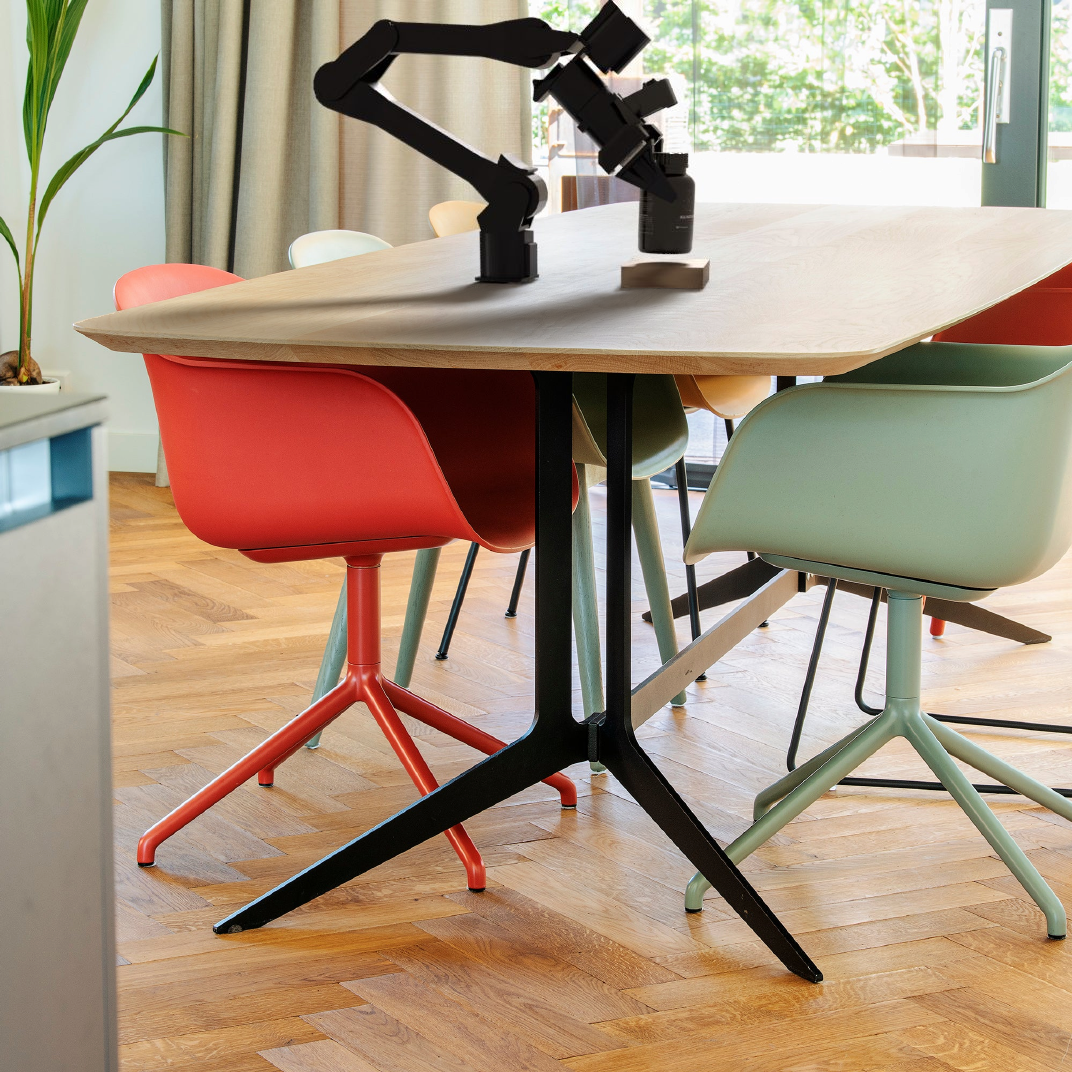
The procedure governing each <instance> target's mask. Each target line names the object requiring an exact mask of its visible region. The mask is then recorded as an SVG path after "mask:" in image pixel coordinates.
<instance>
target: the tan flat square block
mask: <svg viewBox="0 0 1072 1072" xmlns="http://www.w3.org/2000/svg"><path fill="white" fill-rule="evenodd" d="M710 262H711V259H706V258H705V259H704V258H702V259H701V258H697V259H696V258H695V259H693V258H637V257H636V258H635V257H633V258H630V259H629V260H628V261H626V262H625V263H624V264H622V265H620V288H641V289H642V288H644V289H646V288H648V289H649V288H653V289H655V288H657V289H695V290H696V289H697V290H698V289H699V290H700V289H704V288H705V286H706V285H707V283H708V282H709V280H710V269H711V268H710V265H711V263H710Z"/></svg>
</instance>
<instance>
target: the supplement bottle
mask: <svg viewBox="0 0 1072 1072" xmlns="http://www.w3.org/2000/svg"><path fill="white" fill-rule="evenodd" d="M654 159H655V161H656V162H657V164H658V165H659V167H660V168H661V170H662V172H663V173H664V175H665V176H666V178H667V179H668V181H669V182H670V184H671V186H672V187H673V189H674V190H675V192H676V194H677V195H678V198H677V199H676V200H675V201H674V202H673V203H670V202H668V201H666V200H664V199H662V198H660V197H658V196H656V195H653V194H651V193H649V192H647V191H645V190H643V189H641V188H639V202H638V227H637V228H638V229H637V249H638V251H639V252H640V253H643V254H651V255H652V254H653V255H688V254H690V253H692V250H693V244H694V243H693V241H694V239H693V238H694V224H695V223H694V221H695V219H694V218H695V203H696V202H695V199H696V182H695V180H694V179H693V177H691V176H690V175H689V174H687V169H689V152H670V151H669V152H654Z"/></svg>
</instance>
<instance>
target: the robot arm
mask: <svg viewBox="0 0 1072 1072" xmlns="http://www.w3.org/2000/svg"><path fill="white" fill-rule="evenodd" d="M651 42H652V39H651V37H650V36H649V35H648V33H647V32H646V31H645V30H644V29H643V27H641V25H640V24H639V23H638V22H637V21H636V20H635V19H634V18H633V17H631V16H629V15H628V14H627V13H626V12H625V11H624V10H623V9H622V8H621V7H620V6H619V5H618V4H617V3H616V1H614V0H607V1H606V2H605V3H604V4H603V6H602V7H601V9H600V10H599V13H597V14H596V15H595V16H594V18H593V19H592V20H591V21H590V22H589V23H588V24H587V25H586V26H585V27H584V28H583V30H582V31H581V32H580V33H578V32H577V31H575V30H572V29H569V30H568V31H564V30H559V29H558V28H557V26H555V24H554V23H552V22H550V21H547V20H544V19H542V18H538V17H535V16H529V17H521V18H515V19H507V20H503V21H498V22H494V23H489V24H483V25H482V24H481V25H480V24H478V25H477V24H459V23H437V22H436V23H434V22H433V23H432V22H414V21H413V22H412V21H411V22H410V21H396V20H392V19H387V18H384V19H379V20H377V21H376V22H374V24H373V25H372V26H371V27H370V28H369V29H368V31H366V33H365V34H363V35H362V36H361V37H360V38H358V40H357V41H355V42H354V43H352V44H351V45H350V46H349V47H347V48H346V49H345V50H344V51H343V52H342V53H341V54H340V55H339V56H338V57H337V58H336V59H334V60H331V61H328V62H325V63H323V64H322V65H321V66H319V68H318V69H317V71H316V72H315V74H314V77H313V81H312V84H313V85H312V86H313V87H312V89H313V92H314V95H315V96H314V97H315V99H316V100H317V103H319V104H320V105H321V106H322V107H324V108H326V109H329V110H330V111H333V112H336V113H339V114H341V115H343V116H345V117H348V118H352V119H355V120H358V121H361V122H363V123H367V124H370V125H373V126H375V127H377V128H379V129H380V130H382V131H384V132H386V133H387V134H389V135H390V136H392V137H394V138H396V140H399V141H400V142H402V143H404V144H405V145H407V146H409V147H411V148H412V149H413V150H415V151H416V152H418V153H419V154H422V155H423V156H424V157H426V158H428V159H430V160H431V161H432V162H435V163H436V164H437V165H439V166H441V167H443V168H444V169H446V170H447V171H450V172H451V173H453V174H454V175H456V176H458V177H460V179H462V180H464V181H465V182H467V183H468V184H470V185H471V186H472V187H473V188H474V190H475V191H476V192H477V193H478V194H479V195H480V197H482V199H483V200H484V201H485V202H487V205H486V206H485V207H484V209H482V210H481V212H480V213H478V214H477V216H476V222H477V224H478V226H479V227H478V228H479V229H480V230H479V232H478V234H479V237H478V238H479V276H474V281H475V282H491V283H492V282H494V283H495V282H496V283H500V282H501V283H519V284H520V283H524V282H527V281H531V280H535V279H539V278H540V273H539V272H538V271H539V269H538V268H539V267H538V243H537V242H536V241H535V240H534V239H535V237H534V236H535V234H534V233H535V230H533V229H531V227H532V225H533V221H534V220H535V216H537V215H538V214H540V213H541V212H542V211H543V210H544V209H545V207H546V206H547V203H548V199H549V198H548V197H549V191H548V186H547V183H546V182H545V180H544V179H543V177H541V176H540V175H539V174H537V173H536V172H538V171H539V168H538V167H536V166H535V167H534V166H530V165H528V164H526V163H525V162H523V161H522V160H521V159H520V158H518V157H517V156H516V155H515V154H514V153H512V152H506V153H500V154H499V157H498V159H497V158H493V157H491V156H489V155H487V154H485V153H483V152H482V151H480V150H478V149H477V148H475V147H474V146H472V145H470V144H469V143H467V142H465V141H464V140H462V139H460V138H458V136H456V135H454V134H452V133H450V132H449V131H447V130H446V129H444V128H442V127H441V126H440V125H438V124H436V123H434V122H433V121H431V120H429V119H428V118H426V116H423V115H421V114H420V113H418V112H417V111H415V110H414V109H411V108H409V107H408V106H406V105H405V104H403V103H402V102H400V101H398V100H397V98H395V97H394V96H393V95H392V94H391V93H390V92H389V91H388V90H387V89H386V87H385V86H384V85H383V84H382V83H381V82H380V80H381V79H382V78H383V77H384V75H385V74H386V73H387V71H388V70H389V68H390V67H391V66H392V64H393V63H394V61H395V60H396V59H397V58H398V57H399V56H400V55H402V54H403V55H404V54H405V55H421V56H422V55H426V56H427V55H428V56H446V57H464V58H465V57H466V58H467V57H468V58H485V59H490V60H494V61H498V62H502V63H507V64H509V65H510V64H511V65H514V66H519V67H524V68H528V69H533V70H538V71H542V70H548V69H549V68H552V67H553V66H554V65H555V64H556V65H555V66H554V67H553V68H552V69H551V70H550V71H548V73H546V75H545V76H544V77H543V78H541V79H537V78H533V79H532V81H531V82H532V86H533V92H532V93H533V95H532V101H533V102H534V103H539V104H540V103H544V102H545V100H546V99H547V98H548V97H549V96H551V98H553V100H554V101H556V103H557V104H558V105H559V106H560V107H561V108H562V109H563V110H564V111H565V112H566V114H567V115H568V116H569V117H570V118H571V119H572V120H573V121H574V122H575V124H577V126H576V128H577V129H578V130H579V131H580V132H581V133H582V134H585V135H587V136H588V137H589V139H590V140H591V141H592V142H593V143H594V144H595V145H596V146H597V147H598V148H599V150H598V151H597V164H598V166H599V167H601V169H603V171H604V172H605V173H606V174H607V175H608V176H611V175H613V174H614V172H615V171H616V168H617V167H618V166H620V167H621V168H620V170H619V171H618V172H617V173H616V174H615V175H614V177H615V178H617V179H619V180H621V181H624V182H626V183H628V184H630V185H632V186H634V187H637V188H638V189H640V188H641V189H643V190H645V191H647V192H649V193H651V194H653V195H656V196H658V197H660V198H662V199H664V200H666V201H668V202H670V203H673V202H674V201H675V200H676V199H677V198H678V195H677V194H676V192H675V190H674V189H673V187H672V186H671V184H670V182H669V181H668V179H667V178H666V176H665V175H664V173H663V172H662V170H661V168H660V167H659V165H658V164H657V162H656V161H655V159H654V152H663V151H664V143H665V138H664V137H663V136H664V134H663V133H662V131H661V130H660V129H659V128H658V127H657V126H656V125H655V124H654V123H647V121H646V119H645V118H647V117H650V116H651V115H654V114H655V113H658V112H660V111H662V110H664V109H670V108H672V107H674V106H676V105H677V104H679V101H678V100H677V97H676V95H675V91H674V90H673V87H672V85H671V82H670V80H669V78H667V77H665V78H661V79H659V80H658V79H656V78H654V77H652V78H651V79H649V80H647V81H645V82H643V83H642V88H641V89H639V90H637V91H634V92H632V93H631V94H629V95H627V96H625V97H624V96H623V94H622V93H621V92H616V91H613V90H612V89H611V88H610V86H609V85H608V84H606V82H605V81H604V80H603V79H602V78H601V77H600V76H599V75H598V74H597V73H596V72H595V71H594V69H593V68H591V66H590V65H589V64H588V63H587V62H586V60H585V59H584V58H586V57H587V58H588V59H589V60H590V61H591V62H592V65H595V67H596V68H597V69H598V70H599V71H600V72H601V73H602V74H603V75H605V76H607V75H608V74H609V73H610V72H611V73H613V72H614V74H615V73H616V74H617V75H620V74H621V73H622V72H623V70H625V68H627V66H629V65H630V64H631V62H632V61H634V59H636V57H637V56H638V55H639V54H640V53H641V52H642V51H643V50H644V49H645V48H646V47H647V45H648V44H650V43H651ZM572 55H574V56H573V57H572V58H571V59H570V60H569V61H567V63H566V64H565V65H564V64H563V63H561V62H558V61H559V59H560V58H562V57H567V56H572ZM528 229H529V230H528ZM530 229H531V230H530Z"/></svg>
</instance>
